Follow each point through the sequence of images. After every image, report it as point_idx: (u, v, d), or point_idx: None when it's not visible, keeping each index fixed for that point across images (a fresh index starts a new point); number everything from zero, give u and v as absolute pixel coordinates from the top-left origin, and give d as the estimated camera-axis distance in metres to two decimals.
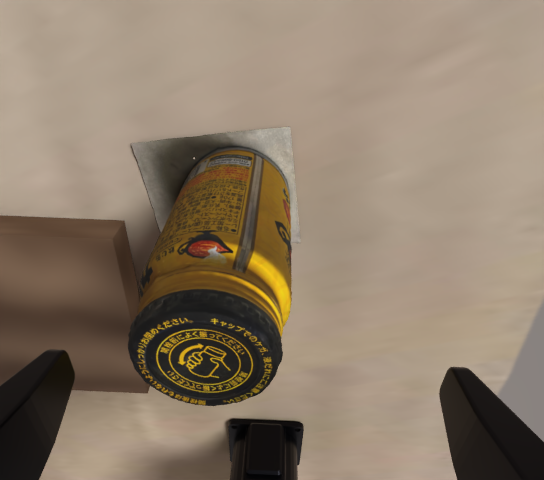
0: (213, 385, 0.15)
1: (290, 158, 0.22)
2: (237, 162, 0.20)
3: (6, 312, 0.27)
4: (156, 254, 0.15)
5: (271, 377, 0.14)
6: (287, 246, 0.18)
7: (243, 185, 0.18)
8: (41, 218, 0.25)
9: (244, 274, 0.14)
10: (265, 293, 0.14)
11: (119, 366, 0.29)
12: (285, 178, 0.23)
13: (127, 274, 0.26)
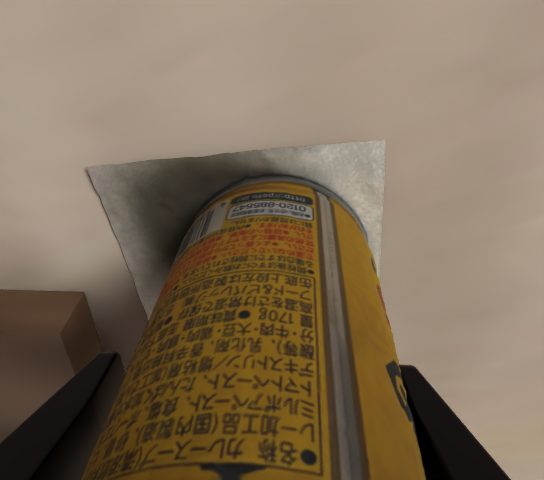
0: None
1: (379, 198, 0.12)
2: (287, 212, 0.10)
3: None
4: None
5: None
6: (412, 424, 0.08)
7: (307, 275, 0.08)
8: None
9: None
10: None
11: None
12: (364, 231, 0.13)
13: None
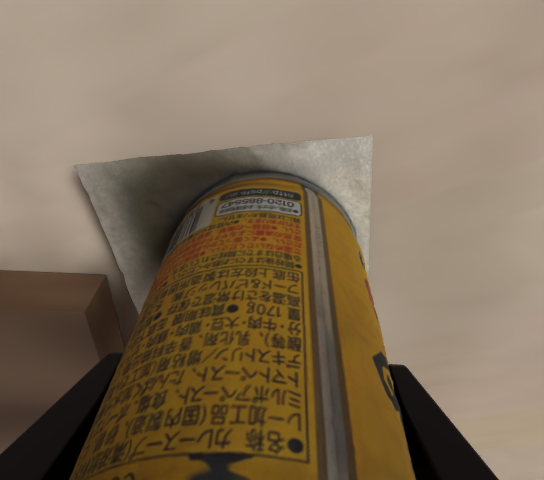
0: None
1: (366, 193, 0.12)
2: (275, 208, 0.10)
3: None
4: None
5: None
6: (399, 413, 0.08)
7: (295, 268, 0.08)
8: None
9: None
10: None
11: None
12: (352, 226, 0.13)
13: None
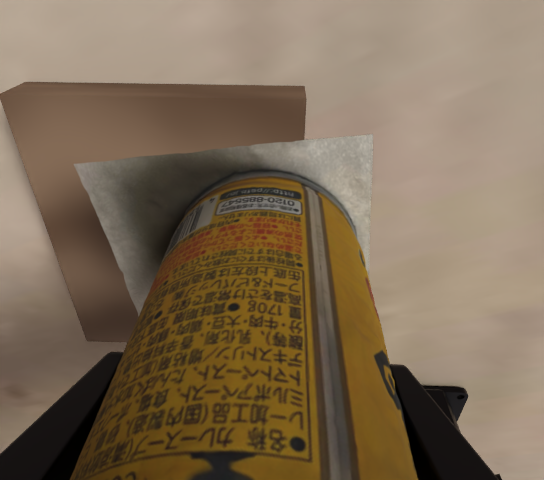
0: None
1: (367, 192, 0.12)
2: (275, 206, 0.10)
3: None
4: None
5: None
6: (401, 412, 0.08)
7: (296, 267, 0.08)
8: (188, 85, 0.17)
9: None
10: None
11: None
12: (353, 225, 0.13)
13: None
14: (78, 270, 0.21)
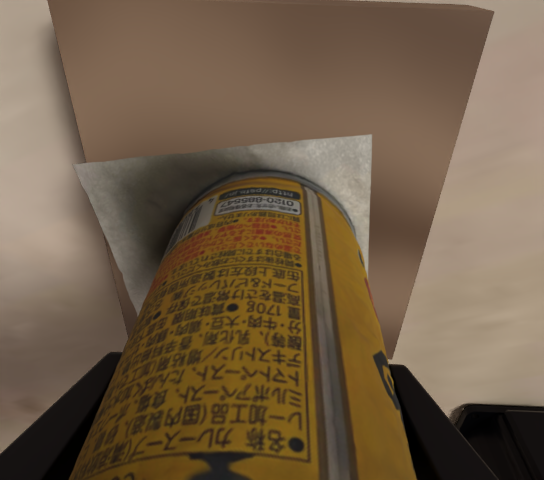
0: None
1: (366, 192, 0.12)
2: (274, 206, 0.10)
3: None
4: None
5: None
6: (400, 412, 0.08)
7: (295, 267, 0.08)
8: None
9: None
10: None
11: None
12: (352, 225, 0.13)
13: None
14: None
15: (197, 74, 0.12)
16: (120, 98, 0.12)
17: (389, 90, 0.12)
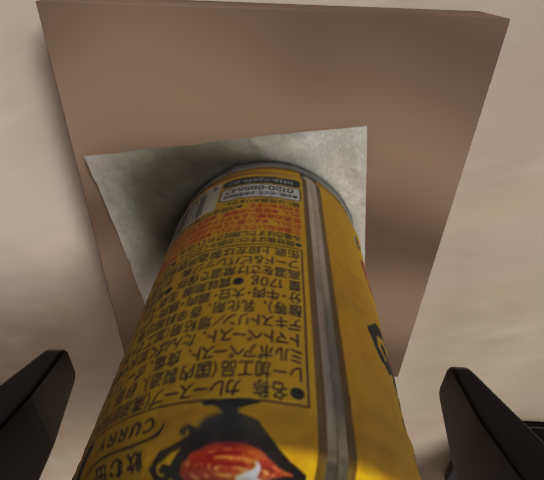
0: None
1: (362, 182, 0.13)
2: (275, 193, 0.11)
3: None
4: (98, 459, 0.06)
5: None
6: (393, 378, 0.08)
7: (295, 247, 0.09)
8: None
9: None
10: None
11: None
12: (349, 214, 0.13)
13: None
14: (127, 272, 0.15)
15: (195, 84, 0.11)
16: (114, 109, 0.12)
17: (398, 101, 0.12)
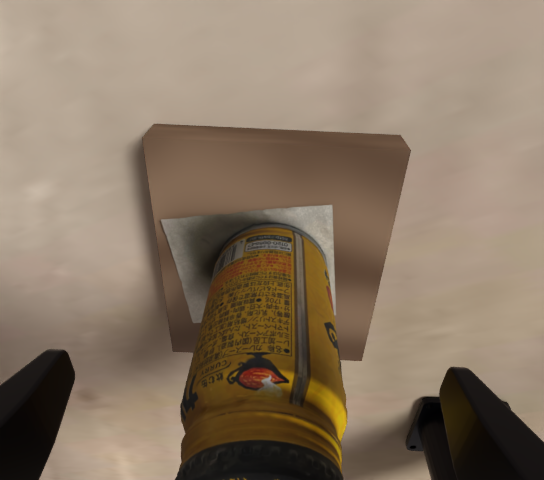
0: None
1: (330, 235, 0.21)
2: (277, 247, 0.19)
3: None
4: (201, 378, 0.14)
5: None
6: (337, 350, 0.16)
7: (288, 281, 0.17)
8: (299, 131, 0.20)
9: (302, 409, 0.13)
10: (327, 431, 0.13)
11: (342, 326, 0.24)
12: (323, 254, 0.21)
13: None
14: (179, 288, 0.23)
15: (230, 180, 0.19)
16: (181, 193, 0.20)
17: (350, 191, 0.19)
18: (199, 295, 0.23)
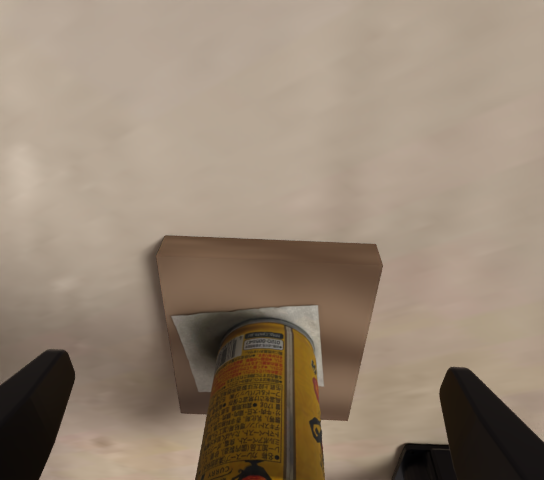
0: None
1: (317, 327, 0.24)
2: (271, 346, 0.22)
3: None
4: None
5: None
6: (320, 443, 0.20)
7: (279, 383, 0.20)
8: (289, 241, 0.23)
9: None
10: None
11: (329, 394, 0.28)
12: (311, 340, 0.25)
13: None
14: (186, 365, 0.27)
15: (231, 286, 0.23)
16: (188, 295, 0.23)
17: (333, 294, 0.23)
18: (204, 370, 0.27)
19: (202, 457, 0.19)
